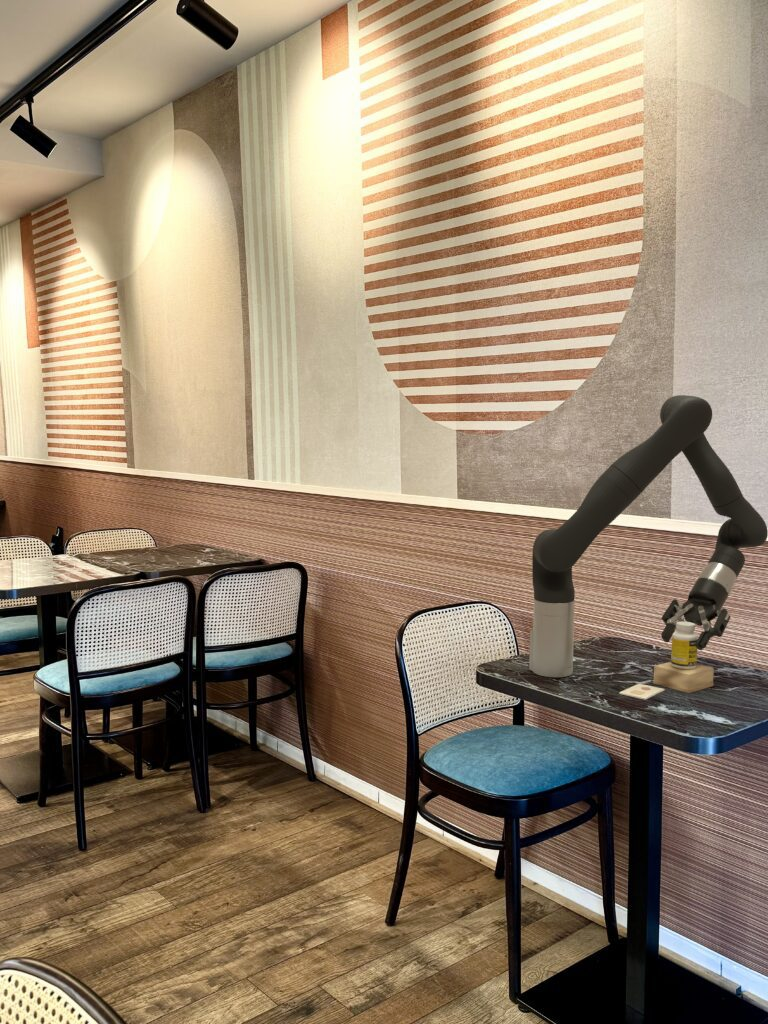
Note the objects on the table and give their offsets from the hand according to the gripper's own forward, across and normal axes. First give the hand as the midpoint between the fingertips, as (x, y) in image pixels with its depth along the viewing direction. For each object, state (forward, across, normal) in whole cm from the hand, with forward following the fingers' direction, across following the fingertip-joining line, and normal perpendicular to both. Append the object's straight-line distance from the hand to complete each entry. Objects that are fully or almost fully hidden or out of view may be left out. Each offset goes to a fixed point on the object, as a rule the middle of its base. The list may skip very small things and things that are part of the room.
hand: (681, 644), depth 198 cm
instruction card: (+14, -2, -1) cm, 14 cm away
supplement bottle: (+3, 0, +5) cm, 6 cm away
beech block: (+6, 0, +8) cm, 10 cm away
